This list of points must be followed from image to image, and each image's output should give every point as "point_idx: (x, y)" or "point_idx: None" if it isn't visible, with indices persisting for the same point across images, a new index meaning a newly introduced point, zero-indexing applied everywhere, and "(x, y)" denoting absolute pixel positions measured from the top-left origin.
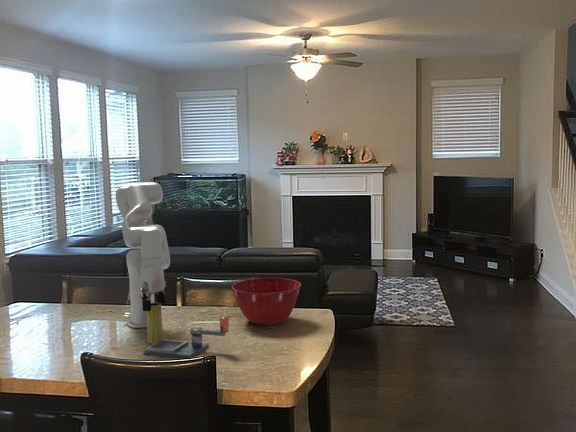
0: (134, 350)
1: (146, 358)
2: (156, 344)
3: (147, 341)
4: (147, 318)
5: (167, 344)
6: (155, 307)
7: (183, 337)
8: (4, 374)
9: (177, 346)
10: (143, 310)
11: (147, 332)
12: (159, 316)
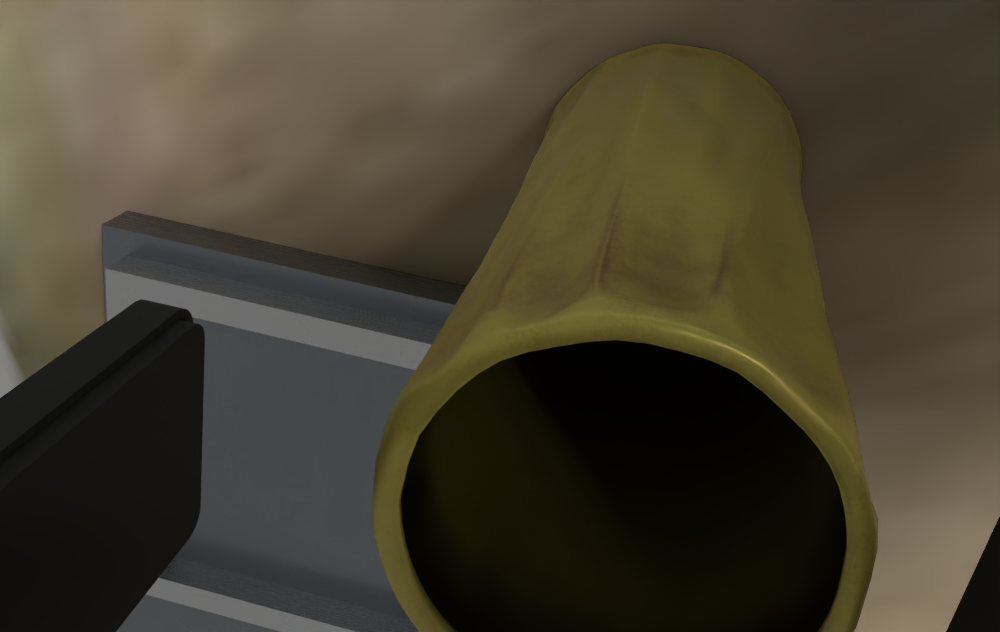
0: (236, 11)
1: (21, 289)
2: (302, 335)
3: (589, 77)
4: (537, 204)
5: None
6: (434, 596)
7: (895, 506)
8: None
9: (246, 604)
10: (148, 315)
11: (626, 91)
12: (576, 493)
